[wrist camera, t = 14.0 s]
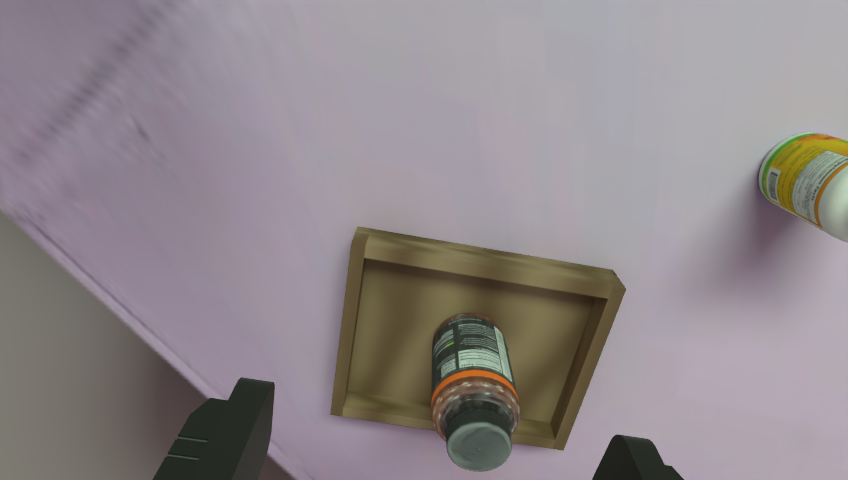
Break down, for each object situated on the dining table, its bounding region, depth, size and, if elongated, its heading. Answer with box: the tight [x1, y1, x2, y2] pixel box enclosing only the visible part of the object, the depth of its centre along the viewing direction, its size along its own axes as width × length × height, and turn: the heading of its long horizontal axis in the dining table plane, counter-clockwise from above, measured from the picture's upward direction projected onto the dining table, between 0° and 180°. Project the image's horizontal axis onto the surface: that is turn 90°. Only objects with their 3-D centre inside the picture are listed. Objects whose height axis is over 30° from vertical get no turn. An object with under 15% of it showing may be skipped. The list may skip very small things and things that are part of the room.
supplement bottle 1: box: [431, 313, 520, 472], centre depth 35 cm, size 6×6×11 cm
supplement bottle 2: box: [759, 132, 848, 242], centre depth 31 cm, size 5×5×10 cm
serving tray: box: [330, 227, 626, 450], centre depth 40 cm, size 20×16×3 cm
